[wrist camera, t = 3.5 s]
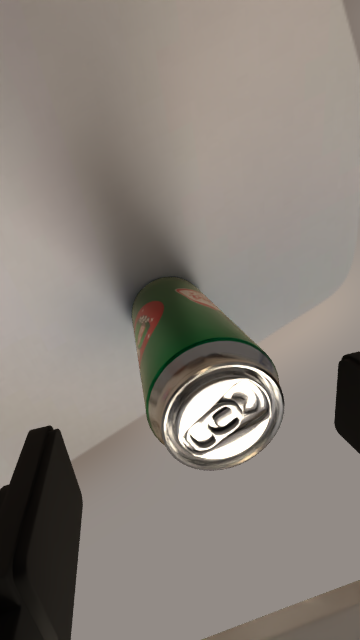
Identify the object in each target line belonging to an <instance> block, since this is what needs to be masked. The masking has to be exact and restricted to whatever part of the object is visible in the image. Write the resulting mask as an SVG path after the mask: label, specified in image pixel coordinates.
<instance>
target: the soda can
mask: <svg viewBox="0 0 360 640" xmlns="http://www.w3.org/2000/svg"><path fill="white" fill-rule="evenodd" d="M132 321H133V328H134V335H135V341H136V348H137V355H138V361H139V368H140V375H141V382H142V388H143V395H144V402H145V408H146V415H147V420H148V423H149V426H150V428H151V430H152V431H153V433H154V435H155V436H156V437H157V438H158V440H159V441H160V442H161V443H162V444H164V445H165V446H166V447H167V450H168V451H169V452H170V453H171V455H172V456H173V457H174V458H175V459H177V460H178V461H179V462H181V463H182V464H184V465H186V466H189V467H191V468H195V469H199V470H210V471H212V470H213V471H214V470H223V469H227V468H231V467H234V466H237V465H240V464H242V463H244V462H246V461H248V460H249V459H251V458H253V457H254V456H256V455H257V454H258V453H259V452H261V451H262V450H263V449H264V448H265V447H266V446H267V445H268V444H269V443H270V441H271V440H272V439H273V437H274V436H275V435H276V433H277V430H278V429H279V427H280V424H281V422H282V419H283V414H284V398H283V393H282V390H281V387H280V385H279V378H278V374H277V371H276V368H275V366H274V364H273V362H272V360H271V359H270V358H269V356H268V355H267V354H266V353H265V352H264V351H263V350H262V349H261V348H260V347H259V346H258V345H257V344H256V343H255V342H254V341H252V340H251V339H250V338H249V337H248V336H247V335H246V334H245V333H244V332H243V331H242V330H241V329H240V328H239V327H238V326H237V325H236V324H235V323H233V322H232V321H231V320H230V319H229V318H228V317H227V316H226V315H225V314H224V313H223V312H222V311H221V310H220V309H219V308H218V307H217V306H215V305H214V304H213V303H212V302H211V301H210V300H209V299H208V298H207V297H206V296H205V295H204V294H203V293H202V292H201V291H200V290H199V289H197V288H196V287H195V286H194V285H193V284H192V283H190V282H188V281H187V280H184V279H182V278H178V277H163V278H159V279H156V280H154V281H152V282H150V283H149V284H147V285H146V286H145V287H144V288H143V289H142V290H141V291H140V292H139V293H138V295H137V297H136V298H135V301H134V303H133V307H132Z"/></svg>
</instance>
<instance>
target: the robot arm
mask: <svg viewBox="0 0 360 640" xmlns="http://www.w3.org/2000/svg"><path fill="white" fill-rule="evenodd" d="M334 423H335V428H336V430H337V432H338V433H339V434H340V435H341V436H342V437H343V438H344V439H345V440H346V441H347V442H348V443H349V444H350V445H351V446H352V447H353V448H354V449H355V450H356V451H357V452H358V453H360V352H356V353H351V354H347V355H344V356H343V358H342V360H341V361H340V362H339V366H338V380H337V394H336V409H335V422H334ZM82 503H83V502H82V494H81V491H80V488H79V485H78V482H77V479H76V476H75V474H74V470H73V468H72V464H71V461H70V459H69V456H68V453H67V450H66V447H65V444H64V441H63V438H62V435H61V432H60V430H59V429H55V430H53V428H52V426H46V427H42V428H37V429H33V430H30V431H29V433H28V435H27V438H26V440H25V443H24V446H23V449H22V451H21V454H20V457H19V460H18V462H17V465H16V468H15V470H14V473H13V476H12V479H11V481H10V484H9V485H6V486H3V487H2V488H1V489H0V640H71V628H72V617H73V606H74V594H75V585H76V574H77V562H78V551H79V541H80V530H81V518H82V507H83V504H82ZM202 640H360V580H358V581H356V582H353V583H350V584H347V585H345V586H342V587H339V588H337V589H334V590H331V591H329V592H326V593H323V594H321V595H318V596H315V597H313V598H310V599H307V600H305V601H302V602H299V603H297V604H294V605H292V606H289V607H286V608H283V609H281V610H278V611H276V612H273V613H271V614H268V615H265V616H262V617H260V618H257V619H255V620H252V621H249V622H247V623H244V624H242V625H239V626H237V627H234V628H231V629H228V630H226V631H223V632H221V633H218V634H215V635H213V636H210V637H207V638H205V639H202Z"/></svg>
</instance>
